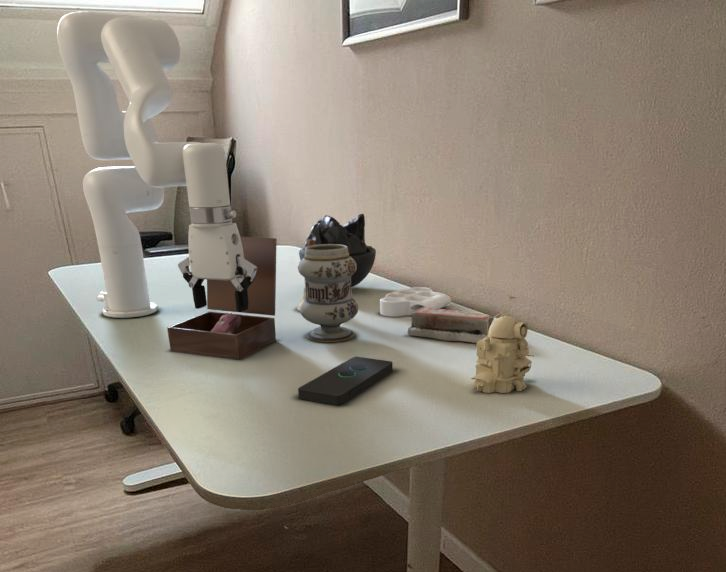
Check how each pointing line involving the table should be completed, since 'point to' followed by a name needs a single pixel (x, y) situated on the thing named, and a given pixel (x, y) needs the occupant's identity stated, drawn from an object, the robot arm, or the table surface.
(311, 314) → the apothecary jar
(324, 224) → the bowl of black rocks
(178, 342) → the box
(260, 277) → the box lid
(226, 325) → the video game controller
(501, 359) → the robot
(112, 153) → the robot arm
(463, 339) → the packaged product
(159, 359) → the table surface
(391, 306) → the white lobed tray
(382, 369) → the smart home device
